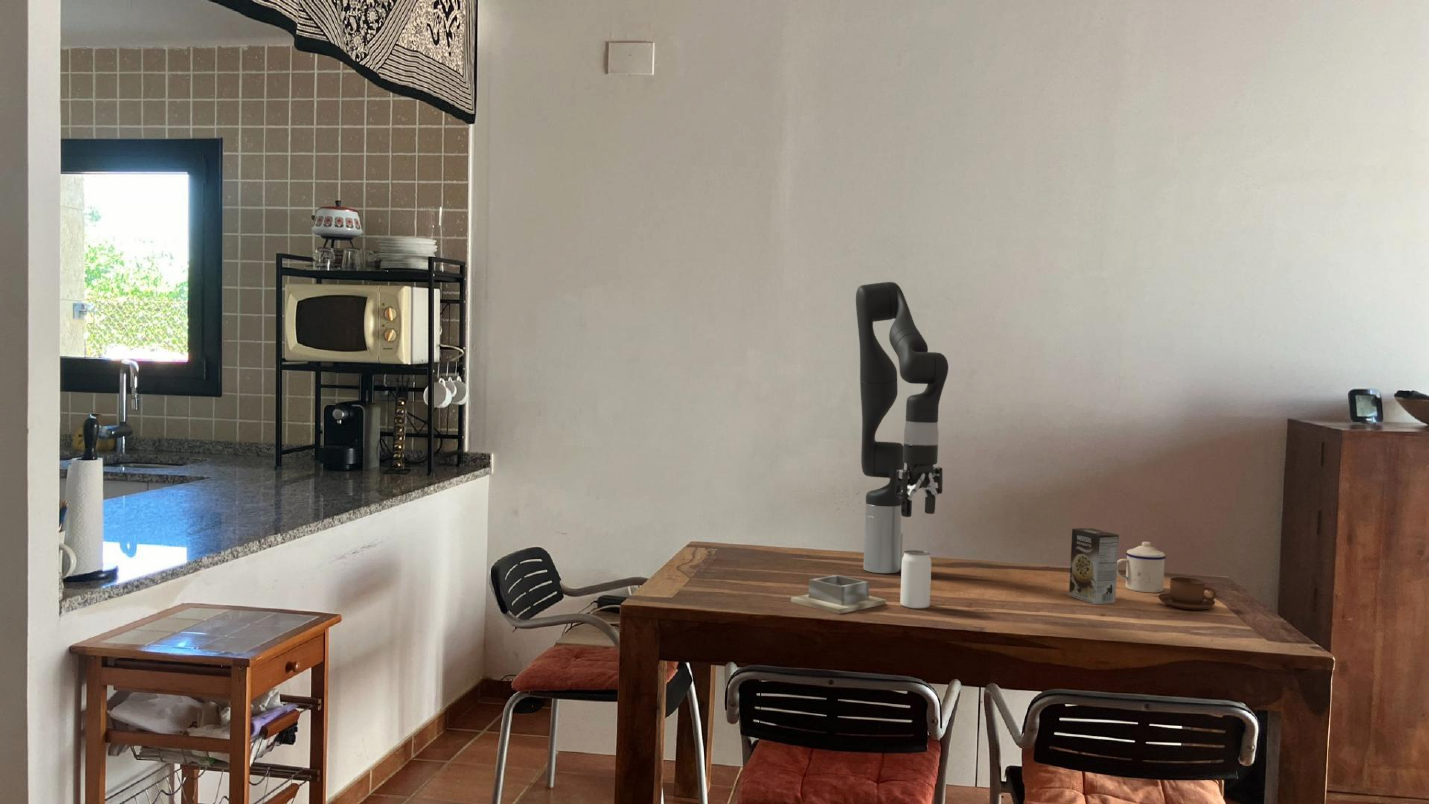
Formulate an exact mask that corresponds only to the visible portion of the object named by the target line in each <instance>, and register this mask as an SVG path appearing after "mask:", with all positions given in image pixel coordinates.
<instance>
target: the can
mask: <svg viewBox="0 0 1429 804" xmlns="http://www.w3.org/2000/svg"><path fill="white" fill-rule="evenodd" d="M903 553H904V554H903V555H902V567H901V570H900V573H901V574H900V575H901V576H900V600H899V601H900V602H899V603H900V604H901V606H902V607H904V608H906V609H914V610H923V609H928V608H929V607H930V602H931V586H932V585H931V583H932V582H931V581H932V579H931V578H932V559H931V557H930V551H929V552H928V551H924V550H917V549H911V550H904V551H903Z"/></svg>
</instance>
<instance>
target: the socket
mask: <svg viewBox="0 0 1429 804" xmlns="http://www.w3.org/2000/svg"><path fill="white" fill-rule="evenodd" d="M790 603H793V604H797V605H802V606H806V607H808V608H809V607H810V608H814V609H817V610H820V611H821V610H822V611H825V612H829V613H833V614H837V615H841V614H845V613H851V612H854V611H855V612H857V611H859V610H865V609H868V608H873V607H878V606H882V605H886V603H887V599H884V598H881V597H875V596H873V595H872V596H871V595H870V581H866V580H862V579H858V578H854V577H850V576H849V577H848V576H844V575H839V574H833V575H828V576H822V577H818V578H817V577H816V578H812V579H811V578H810V579H809V580H808V594H802V595H798V596H792V597H790Z"/></svg>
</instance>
